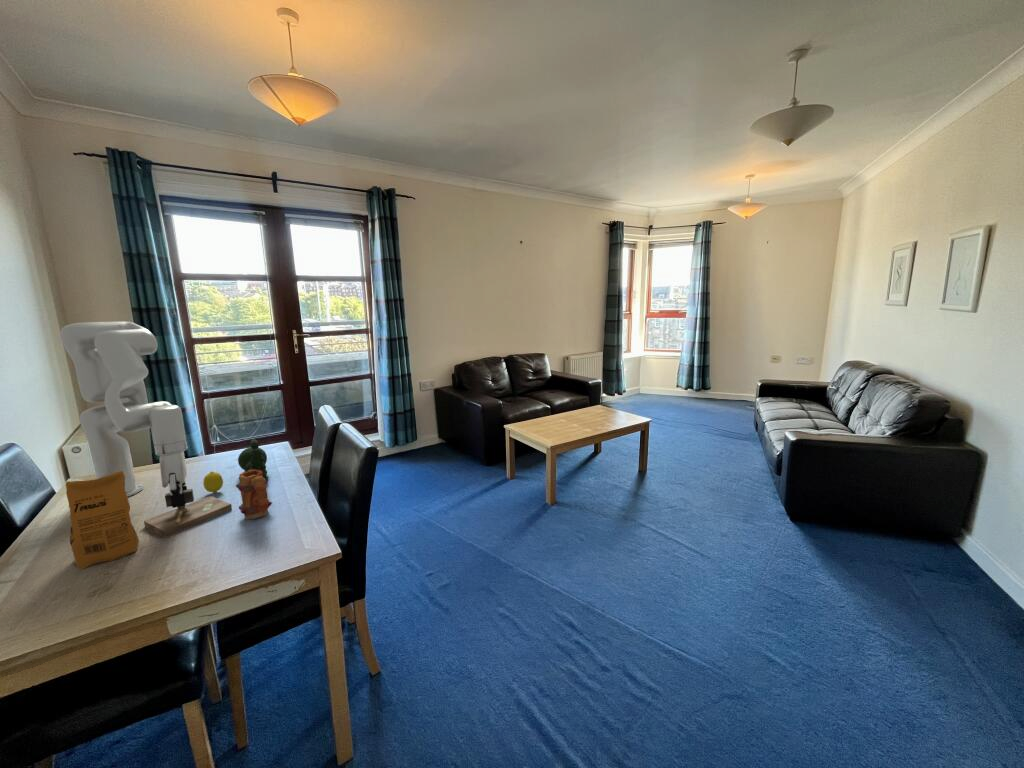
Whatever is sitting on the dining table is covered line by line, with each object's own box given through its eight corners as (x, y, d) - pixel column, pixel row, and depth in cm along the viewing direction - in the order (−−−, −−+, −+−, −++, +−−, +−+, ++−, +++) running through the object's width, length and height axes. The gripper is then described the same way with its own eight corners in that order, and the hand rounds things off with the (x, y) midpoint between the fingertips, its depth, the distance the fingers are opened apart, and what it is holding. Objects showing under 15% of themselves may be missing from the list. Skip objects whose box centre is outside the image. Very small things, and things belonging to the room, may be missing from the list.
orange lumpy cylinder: (237, 514, 128) (231, 470, 125) (266, 505, 134) (260, 462, 131) (251, 532, 119) (244, 484, 116) (281, 521, 125) (276, 475, 122)
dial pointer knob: (169, 512, 125) (166, 493, 124) (195, 507, 129) (192, 488, 128) (164, 526, 118) (160, 505, 116) (191, 520, 121) (188, 500, 120)
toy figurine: (276, 490, 149) (265, 463, 168) (271, 442, 144) (260, 420, 163) (246, 497, 143) (237, 469, 162) (239, 448, 138) (232, 425, 157)
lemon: (214, 497, 140) (211, 475, 138) (201, 495, 141) (197, 474, 140) (228, 490, 145) (225, 469, 144) (215, 488, 146) (212, 467, 145)
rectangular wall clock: (144, 526, 121) (143, 520, 121) (211, 501, 137) (210, 495, 137) (164, 537, 116) (163, 530, 115) (231, 509, 132) (231, 503, 131)
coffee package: (77, 554, 108) (59, 477, 104) (140, 537, 116) (126, 465, 112) (71, 573, 101) (52, 490, 96) (139, 553, 108) (124, 476, 104)
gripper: (160, 440, 127) (169, 494, 131) (148, 457, 113) (159, 517, 116) (190, 436, 131) (198, 489, 134) (183, 452, 117) (192, 511, 120)
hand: (180, 501), depth 125 cm, fingers open, 4 cm apart
